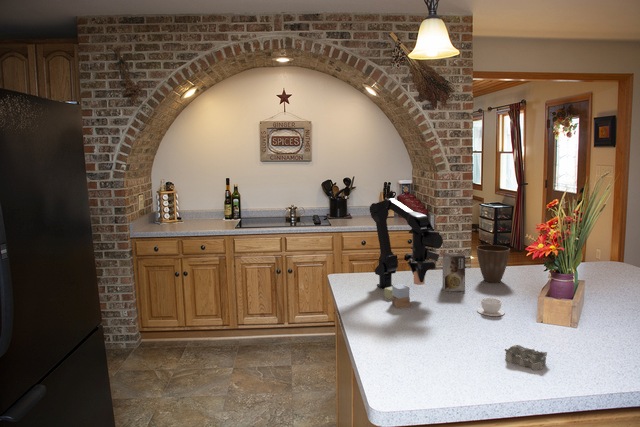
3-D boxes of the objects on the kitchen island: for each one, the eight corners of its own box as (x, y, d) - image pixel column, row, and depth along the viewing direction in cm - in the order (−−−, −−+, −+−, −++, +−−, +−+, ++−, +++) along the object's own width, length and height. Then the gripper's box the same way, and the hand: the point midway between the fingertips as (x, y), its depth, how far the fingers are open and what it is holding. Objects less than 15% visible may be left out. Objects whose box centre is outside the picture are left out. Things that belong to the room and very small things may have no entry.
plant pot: (473, 276, 228) (473, 244, 226) (504, 276, 226) (505, 244, 223) (479, 284, 213) (480, 251, 211) (512, 285, 211) (514, 251, 209)
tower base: (392, 304, 190) (392, 294, 189) (404, 302, 191) (404, 293, 190) (396, 308, 184) (396, 298, 184) (409, 307, 185) (409, 297, 185)
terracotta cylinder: (411, 282, 197) (411, 270, 197) (421, 281, 198) (421, 270, 198) (416, 285, 193) (416, 273, 192) (426, 284, 194) (426, 272, 193)
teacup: (507, 317, 172) (507, 305, 171) (479, 316, 174) (479, 304, 173) (502, 308, 181) (502, 297, 181) (475, 307, 183) (476, 296, 183)
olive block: (384, 297, 199) (384, 288, 198) (390, 295, 201) (390, 286, 201) (391, 299, 196) (391, 290, 195) (397, 297, 198) (397, 288, 197)
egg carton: (502, 361, 137) (502, 348, 137) (512, 353, 142) (512, 340, 142) (539, 373, 130) (540, 359, 129) (548, 363, 135) (549, 350, 134)
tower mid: (392, 295, 189) (392, 285, 188) (402, 293, 190) (402, 284, 190) (398, 298, 184) (398, 289, 183) (409, 297, 186) (409, 287, 185)
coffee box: (462, 287, 210) (462, 252, 208) (465, 291, 204) (465, 255, 202) (441, 286, 211) (442, 252, 209) (444, 291, 205) (444, 255, 203)
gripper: (447, 247, 186) (446, 285, 188) (427, 239, 204) (427, 273, 206) (421, 249, 184) (421, 287, 186) (403, 241, 202) (403, 275, 204)
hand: (419, 280), depth 196 cm, fingers closed on terracotta cylinder, 5 cm apart
